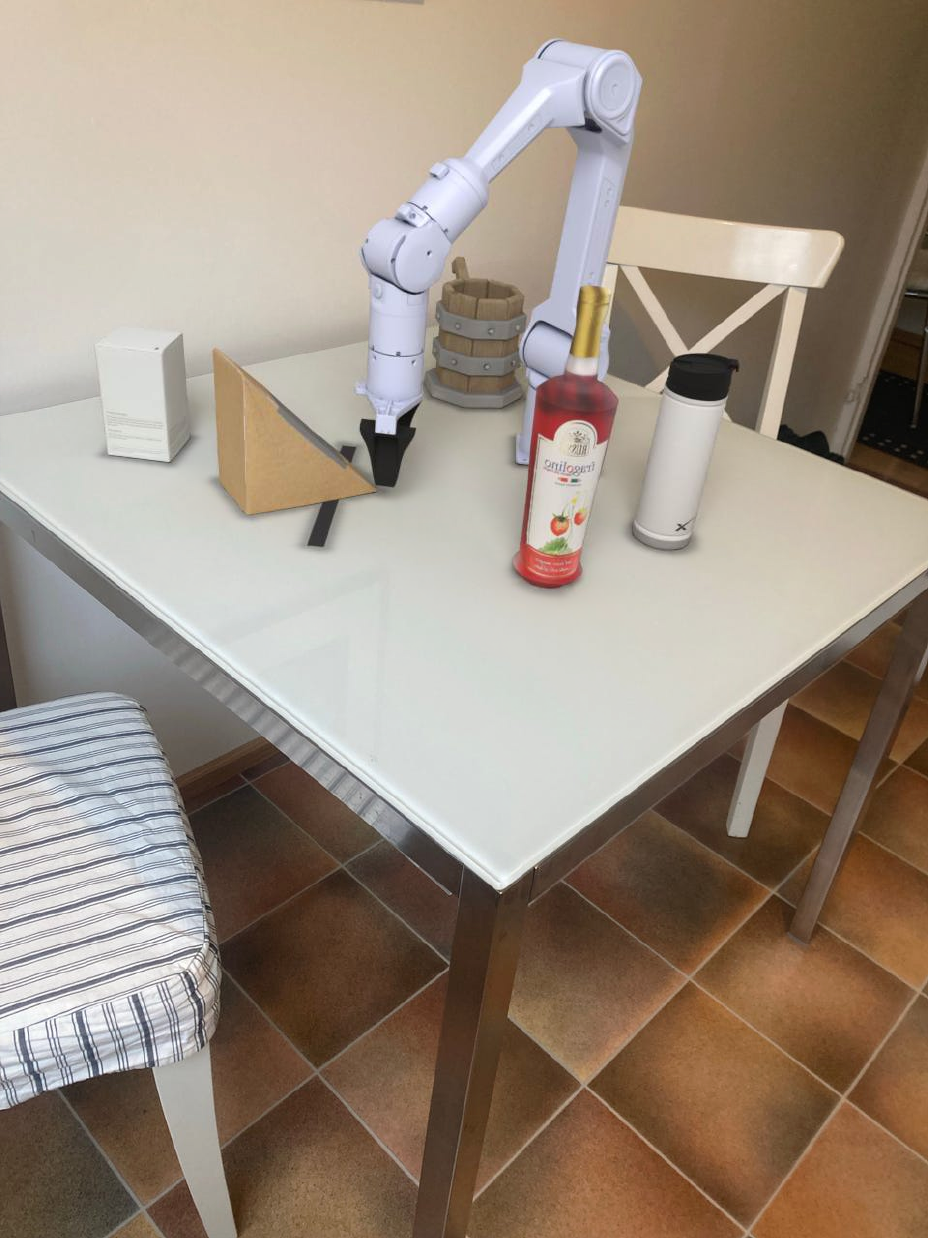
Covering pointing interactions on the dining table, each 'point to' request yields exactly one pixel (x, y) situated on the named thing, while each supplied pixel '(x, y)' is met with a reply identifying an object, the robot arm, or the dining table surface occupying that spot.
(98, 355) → the white packaging box
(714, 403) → the travel mug
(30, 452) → the dining table surface
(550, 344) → the robot arm
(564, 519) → the liquor
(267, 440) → the sandwich container
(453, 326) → the tankard
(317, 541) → the tape line
